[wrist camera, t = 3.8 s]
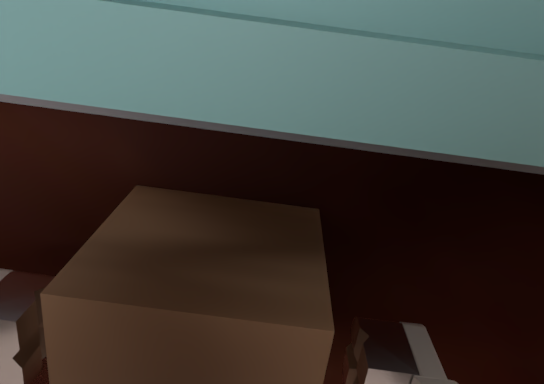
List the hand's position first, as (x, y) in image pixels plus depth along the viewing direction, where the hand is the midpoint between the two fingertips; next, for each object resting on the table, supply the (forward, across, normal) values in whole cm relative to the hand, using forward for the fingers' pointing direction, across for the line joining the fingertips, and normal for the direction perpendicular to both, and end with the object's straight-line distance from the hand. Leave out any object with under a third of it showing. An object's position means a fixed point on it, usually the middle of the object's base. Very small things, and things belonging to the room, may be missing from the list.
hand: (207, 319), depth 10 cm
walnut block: (+2, 0, 0) cm, 2 cm away
